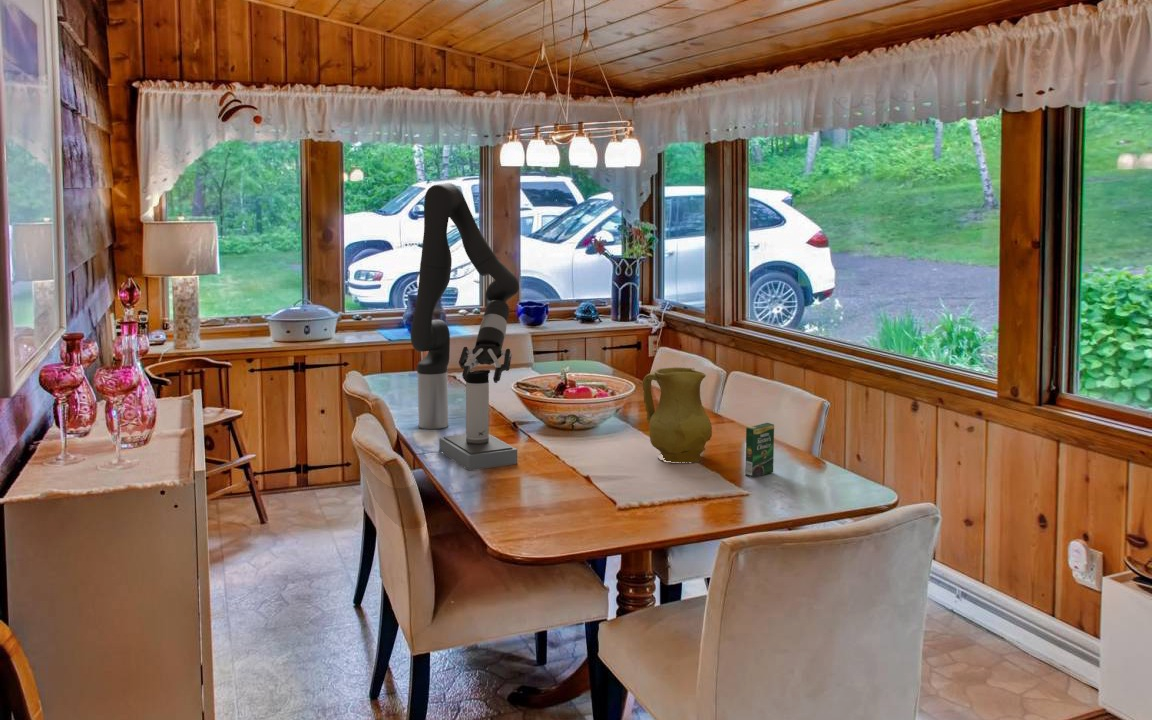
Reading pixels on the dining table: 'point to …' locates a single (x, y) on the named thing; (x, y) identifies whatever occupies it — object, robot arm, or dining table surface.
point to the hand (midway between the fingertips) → (480, 380)
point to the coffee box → (759, 449)
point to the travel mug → (477, 406)
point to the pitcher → (677, 414)
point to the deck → (478, 452)
